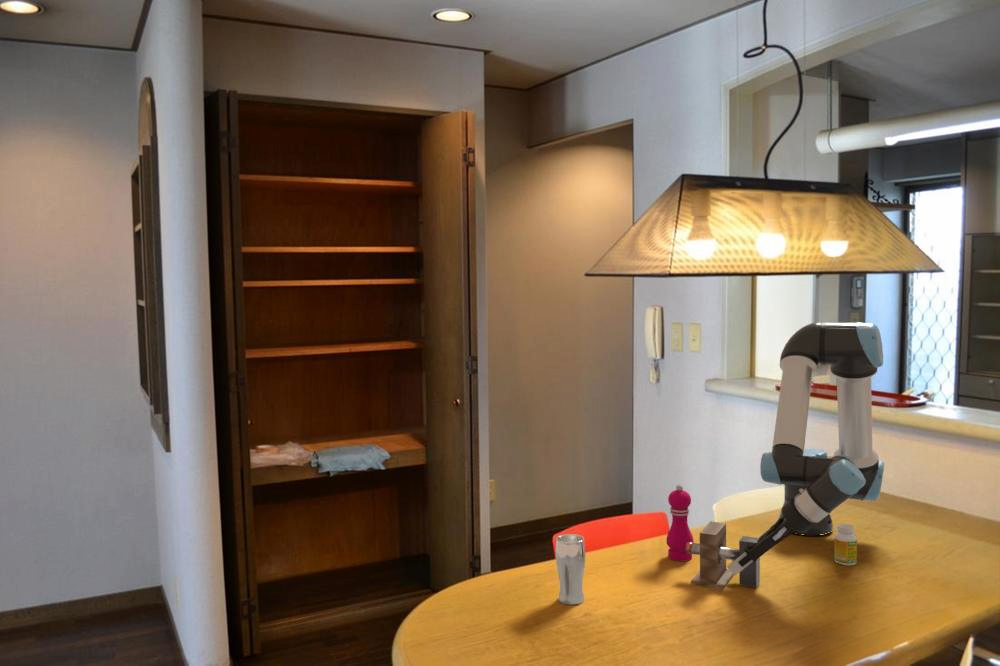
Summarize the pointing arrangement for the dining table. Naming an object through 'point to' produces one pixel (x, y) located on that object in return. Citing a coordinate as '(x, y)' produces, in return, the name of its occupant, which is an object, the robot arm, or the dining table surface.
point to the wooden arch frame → (712, 558)
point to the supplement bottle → (845, 545)
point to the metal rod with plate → (749, 573)
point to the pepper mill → (679, 525)
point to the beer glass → (570, 567)
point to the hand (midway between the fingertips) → (733, 567)
